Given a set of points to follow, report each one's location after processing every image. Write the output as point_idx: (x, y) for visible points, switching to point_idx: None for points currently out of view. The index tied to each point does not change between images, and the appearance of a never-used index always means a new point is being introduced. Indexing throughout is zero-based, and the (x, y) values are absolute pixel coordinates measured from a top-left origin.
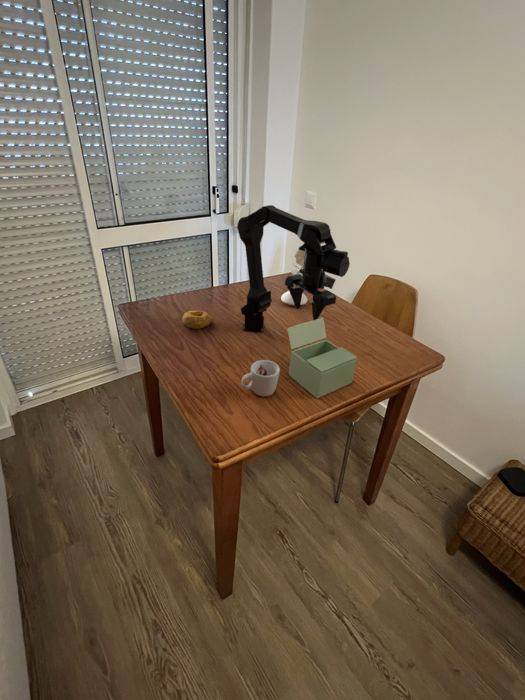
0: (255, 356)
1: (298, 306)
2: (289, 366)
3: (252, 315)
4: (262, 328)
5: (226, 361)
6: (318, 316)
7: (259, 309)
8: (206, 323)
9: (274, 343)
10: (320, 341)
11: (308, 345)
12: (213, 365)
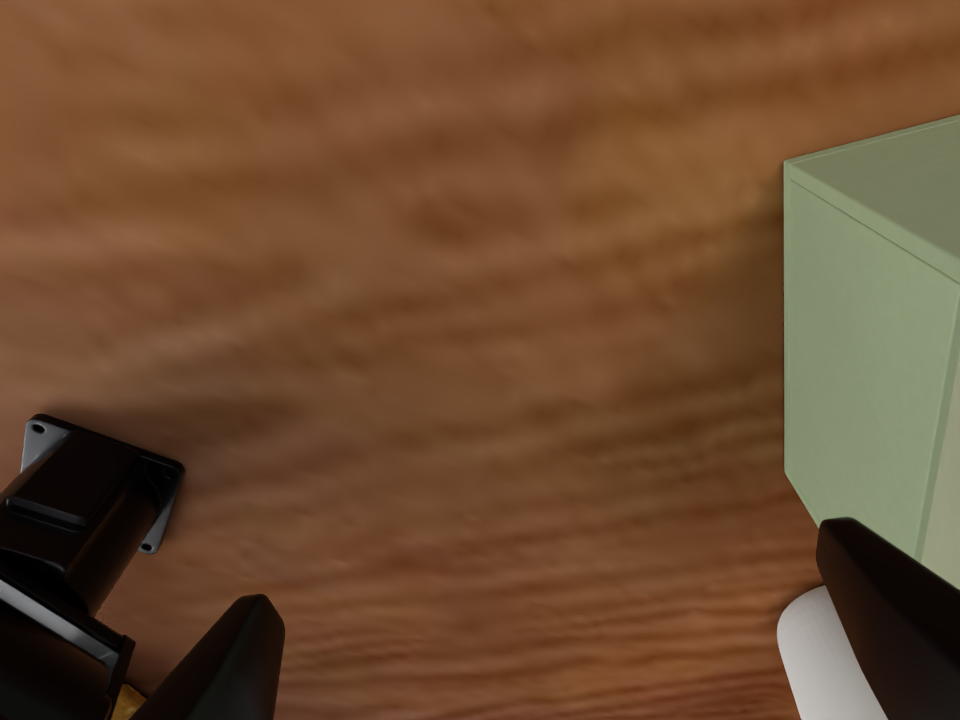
0: (505, 564)
1: (257, 653)
2: (818, 526)
3: (126, 666)
4: (138, 453)
5: (509, 672)
6: (950, 596)
7: (98, 714)
8: (120, 709)
9: (366, 424)
10: (951, 361)
11: (922, 513)
12: (525, 711)
